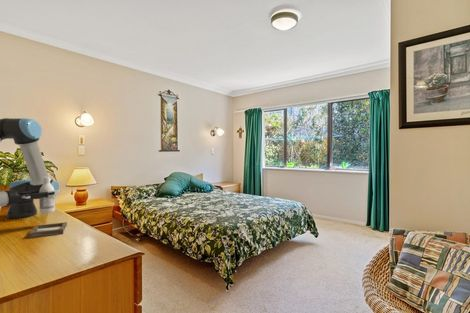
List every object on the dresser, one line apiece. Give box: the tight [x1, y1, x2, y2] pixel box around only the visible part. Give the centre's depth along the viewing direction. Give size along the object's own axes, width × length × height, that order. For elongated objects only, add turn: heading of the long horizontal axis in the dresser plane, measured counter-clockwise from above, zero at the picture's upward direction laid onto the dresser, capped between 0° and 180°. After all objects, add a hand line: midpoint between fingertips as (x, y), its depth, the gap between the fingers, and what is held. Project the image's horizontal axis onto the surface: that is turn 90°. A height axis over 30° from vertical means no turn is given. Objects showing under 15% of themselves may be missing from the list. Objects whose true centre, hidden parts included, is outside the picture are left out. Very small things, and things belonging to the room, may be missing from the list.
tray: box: [28, 221, 68, 239], centre depth 131 cm, size 14×14×2 cm
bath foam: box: [38, 177, 56, 214], centre depth 141 cm, size 7×7×20 cm
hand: (56, 191), depth 145 cm, fingers closed on bath foam, 7 cm apart
